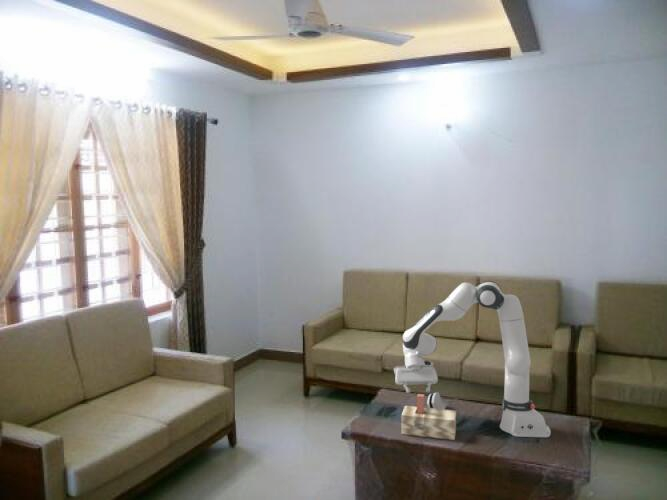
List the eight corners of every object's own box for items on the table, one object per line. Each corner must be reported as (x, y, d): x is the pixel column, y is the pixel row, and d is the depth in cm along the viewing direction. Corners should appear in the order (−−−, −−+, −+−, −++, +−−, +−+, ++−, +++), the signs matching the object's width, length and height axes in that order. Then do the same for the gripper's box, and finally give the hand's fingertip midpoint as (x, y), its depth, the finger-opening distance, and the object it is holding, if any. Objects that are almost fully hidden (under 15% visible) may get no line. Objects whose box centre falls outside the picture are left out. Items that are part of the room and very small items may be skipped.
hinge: (441, 418, 275) (434, 399, 275) (431, 420, 277) (425, 401, 277) (446, 406, 291) (439, 388, 291) (437, 408, 293) (431, 390, 293)
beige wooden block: (455, 429, 263) (456, 410, 262) (454, 440, 251) (454, 420, 250) (404, 423, 269) (405, 405, 268) (401, 434, 257) (401, 415, 256)
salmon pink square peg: (423, 423, 262) (424, 394, 261) (423, 426, 259) (423, 396, 258) (417, 422, 263) (417, 393, 261) (416, 425, 260) (417, 396, 258)
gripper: (394, 362, 270) (397, 389, 261) (435, 362, 271) (440, 388, 263) (392, 369, 275) (395, 395, 266) (433, 368, 276) (438, 394, 268)
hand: (418, 392), depth 265 cm, fingers open, 8 cm apart
